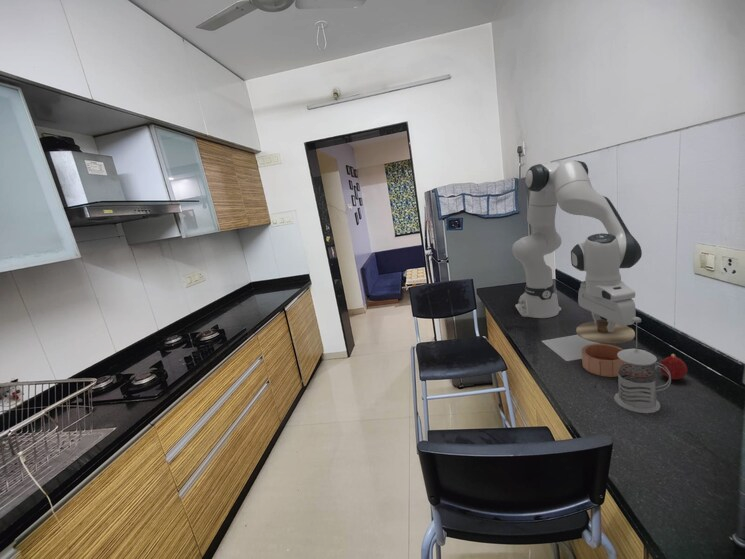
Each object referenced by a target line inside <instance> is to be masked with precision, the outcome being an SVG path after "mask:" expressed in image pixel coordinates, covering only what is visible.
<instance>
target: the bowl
mask: <svg viewBox="0 0 745 559" xmlns="http://www.w3.org/2000/svg"><path fill="white" fill-rule="evenodd" d="M622 350H625V349H624V348H622V347H620V346H616V345H613V344H605V343H600V344H591V345H586V346H585V347H583V348H582V359H581V361H582V362H581V363H582V368H583V369H584V370H586V371H587V372H589V373H591V374H594V375H597V376H601V377H609V378H610V377H611V378H615V377H618V372H619V370H620V366H621V365H623V364H628V363H626V362H623V361H622V360H620V359H619V358H618V355H617V354H618V352H619V351H622Z"/></svg>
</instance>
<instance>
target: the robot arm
mask: <svg viewBox="0 0 745 559" xmlns="http://www.w3.org/2000/svg"><path fill="white" fill-rule="evenodd" d="M525 187H526V189H527V190H528V191H530V195H529V198H528V206H527V207H528V208H527V214H526V221H527V223H528V224H529V225H530V226H531V228H532V229H531V230H532V232H531V234H529V235H526V236H523V237H520V238H519V239H518V240H516V241H515V242H514V243H513V244H512V247H511V252H512V255H513V257H514V258H515V259H516V260H518V261H519V262H520V263H521V264H522V266H523V268H524V274H525V282H526V284H525V286H524V287H525V288H524V289H525V290H524V292H523V293H522V294H521V295H520V297H519V299H518V303H517V304H515V306H514V307H515V308H516V309H517V311H518V313H519V314H520V315H521V317H524V318H525V317H526V318H527V317H528V318H529V317H530V318H536V319H546V318H553V317H555V316H557V315H559V313H560V311H562V307H561V306H560V305H559V300H558V294H557V293H555V285H554V282H553V270H552V268H551V267H550V266H549V265H547V264H546V261H545V258H544V256H546V255H549V254H551V253H553V252H555V251H557V250H558V249H559V248H560V247H561V245H562V237H561V235H560V233H558V232H557V229H556V228H557V227H556V222H555V221H556V213H557V207H559V209H560V210H562V211H563V212H565V213H567V214H570V215H574V216H583V217H589V218H593V219H596V220H598V221H600V222H601V223H602V225H603V227H604V229H605V230H606V232H607V233H602V232H601V233H594V234H591V235H589V236H588V237H586V239H585V241H583V242H579V243H577V244H576V245H574V246H573V248H572V249H571V250H570V262H571V263H570V264H571V266H572V267H573V268H575V269H576V270H578V271H581V272H585V273H586V275H585V280H583V281H582V282H581V283H580V287H579V289H578V296H577V298H578V299H577V303H578V306H579V307H581V308H583V309H584V310H586V311H589V312H591V313H590V314H591V317H592V319H593V322H594V323H595V325H597V321H599V320H602V318H604V319H605V320H607V322H609V323H608V325H606V326H605V328H606V329H605V330H606V331H608V332H614V326H615V325H616V324H618V325H620V326H630V325H631V326H632V325H633V324H634V323H635V322H632V318H633V317H637V316H636V313H637V312H636V311H637V310H636V304H635V300H634V298H636V291H635V290H633V288H631V287H629V286H628V285H627V284H626V283H625V282H624V281H622V275H621V273H620V269H630V268H632V267H633V266H635V265H636V264H638V262H639V261H640V260H641V258H642V255H643V253H642V252H643V251H642V247H641V244H640V243H639V242H638V240H637V239H636V238H635V237H634V236H633V235H632V234H631V232H630V231H629V229H628V227H627V226H626V224H625V222H624V221H623V218H622V217H621V216H620V214H619V212H618V210H617V209H616V207H615V206H614V204H613V202H612V201H611V200H610V198H608V197H606V196H605V195H602V194H600V193H599V192H597V191H596V190H595V189H594V187H593V186H592V183H591V180H590V178H589V167H588V165H587V164H586V162H584V161H580V160H568V161H567V160H566V161H565V160H564V161H562V160H561V161H560V160H559V161H555V162H553V161H552V162H548V163H543V164H541V163H538V164H534V165H532V166H530V167H529V169H528V170H527V171H526V174H525Z"/></svg>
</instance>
